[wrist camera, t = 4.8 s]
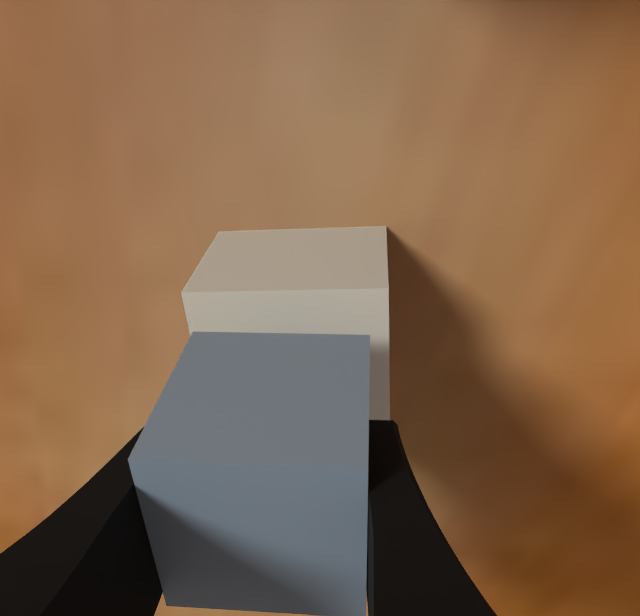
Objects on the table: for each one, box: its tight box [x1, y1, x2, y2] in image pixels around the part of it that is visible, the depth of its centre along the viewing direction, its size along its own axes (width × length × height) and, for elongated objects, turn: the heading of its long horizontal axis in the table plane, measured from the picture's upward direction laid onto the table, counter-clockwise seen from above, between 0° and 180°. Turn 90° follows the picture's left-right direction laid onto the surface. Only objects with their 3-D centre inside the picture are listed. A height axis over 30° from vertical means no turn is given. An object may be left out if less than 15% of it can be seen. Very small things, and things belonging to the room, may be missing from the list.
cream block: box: [181, 226, 390, 420], centre depth 17 cm, size 5×5×4 cm
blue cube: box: [128, 332, 370, 616], centre depth 12 cm, size 4×4×4 cm
